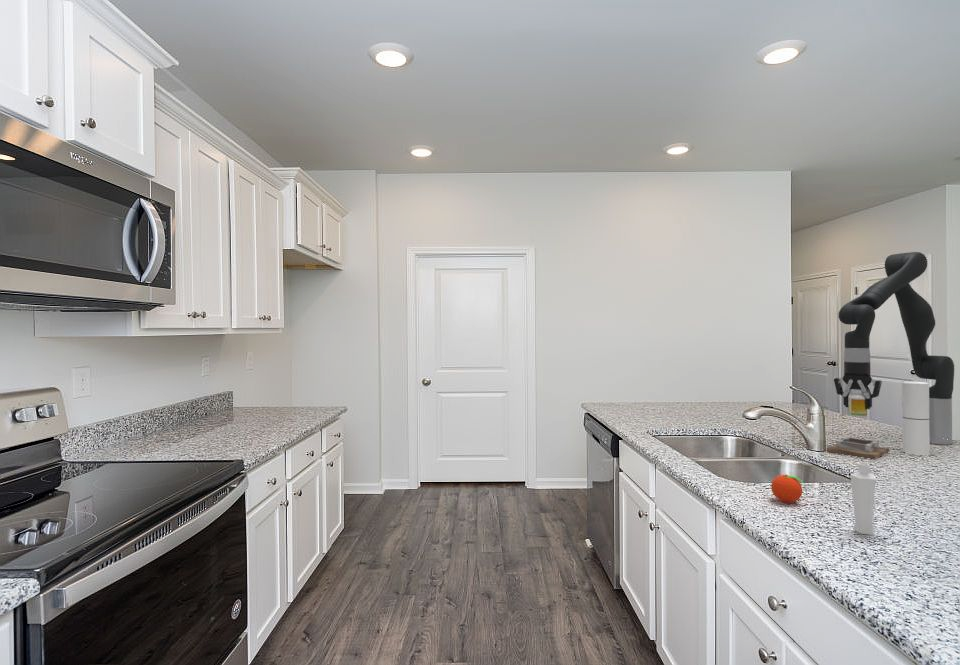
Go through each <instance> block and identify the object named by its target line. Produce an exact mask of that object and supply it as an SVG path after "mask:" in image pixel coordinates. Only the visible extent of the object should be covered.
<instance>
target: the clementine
mask: <svg viewBox="0 0 960 665" xmlns="http://www.w3.org/2000/svg"><path fill="white" fill-rule="evenodd" d="M799 481H801V482H802V483H803V484H804V485H805V486H806V488H808V486H807V485H806V483H805V482H804V481H803V480H802V479H800V478H798V477H796V476H794V475H788V474H780V475H778V476H776V477H775V478H774V479H772V482H771V485H770V486H771V488H770V489H771V492H772V494H773V496H774V497H775V498H776V499H777V500H779V502H783V503H787V504H790V503H795V502H797V501H799V500H800V498H801V497H802V495H803V487H802V485H801V483H800V482H799Z"/></svg>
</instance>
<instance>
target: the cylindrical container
mask: <svg viewBox="0 0 960 665" xmlns="http://www.w3.org/2000/svg"><path fill="white" fill-rule="evenodd" d="M929 387H930V383H929V382H924V381H902V382H901V392H902V393H901V395H902V396H901V398H902V399H901V400H902V401H901V402H902V403H901V404H902V405H901V406H902V407H901V408H902V409H901V410H902V412H901V413H902V414H901V416H902V420H901V422H902V453H903V452H905V453H908V454H907V455H909V454H914V455H913V456H915V455H929V456H930V452H931V451H930V444H931V443H929ZM905 453H904V454H905Z"/></svg>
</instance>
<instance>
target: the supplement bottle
mask: <svg viewBox="0 0 960 665" xmlns="http://www.w3.org/2000/svg"><path fill="white" fill-rule="evenodd" d="M865 399H866V396H865V394H864V393H863V391H862V390H860V389H850V394H849V396H848V407H847V414H848V416H849V417H852V418H868V409H866V405H865Z"/></svg>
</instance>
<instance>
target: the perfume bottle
mask: <svg viewBox="0 0 960 665" xmlns="http://www.w3.org/2000/svg"><path fill="white" fill-rule="evenodd" d="M857 465H858V471H857V472H854V473H851V474H850V482H851V491H852V493H851V494H852V501H853V514H854V515H853V516H854V525H853V529H852V530H853V531H855V532H857V533H859V534H863V535H871V536H873V535H875V529H874V526H873V519H874V506H875V492H876V491H875V490H876V480H877V479H876V476H875V475H874V474H872V473H870V463H865V462H857Z"/></svg>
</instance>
